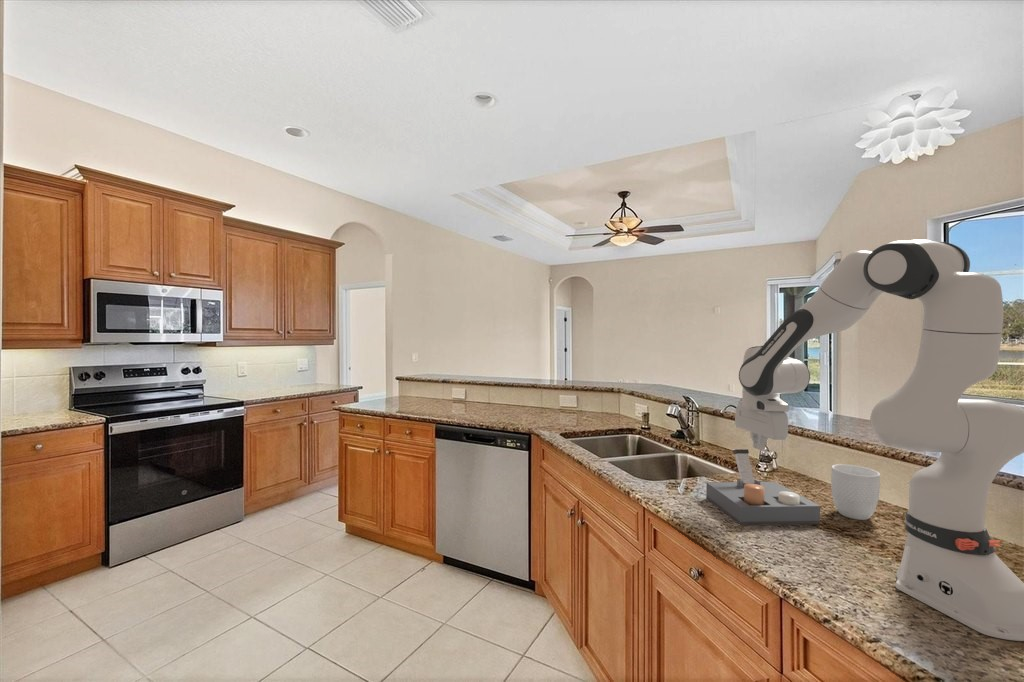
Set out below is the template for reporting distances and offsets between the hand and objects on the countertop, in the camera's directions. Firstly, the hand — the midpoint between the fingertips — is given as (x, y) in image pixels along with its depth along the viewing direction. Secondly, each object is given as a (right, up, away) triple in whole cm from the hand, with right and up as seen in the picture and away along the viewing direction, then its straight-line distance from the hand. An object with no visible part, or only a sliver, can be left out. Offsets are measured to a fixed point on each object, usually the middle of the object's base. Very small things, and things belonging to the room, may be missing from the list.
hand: (758, 448), depth 130 cm
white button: (+5, -16, -6) cm, 18 cm away
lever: (0, -12, +5) cm, 13 cm away
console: (0, -18, -1) cm, 18 cm away
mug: (+26, -18, -3) cm, 32 cm away
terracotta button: (-5, -14, -6) cm, 16 cm away
